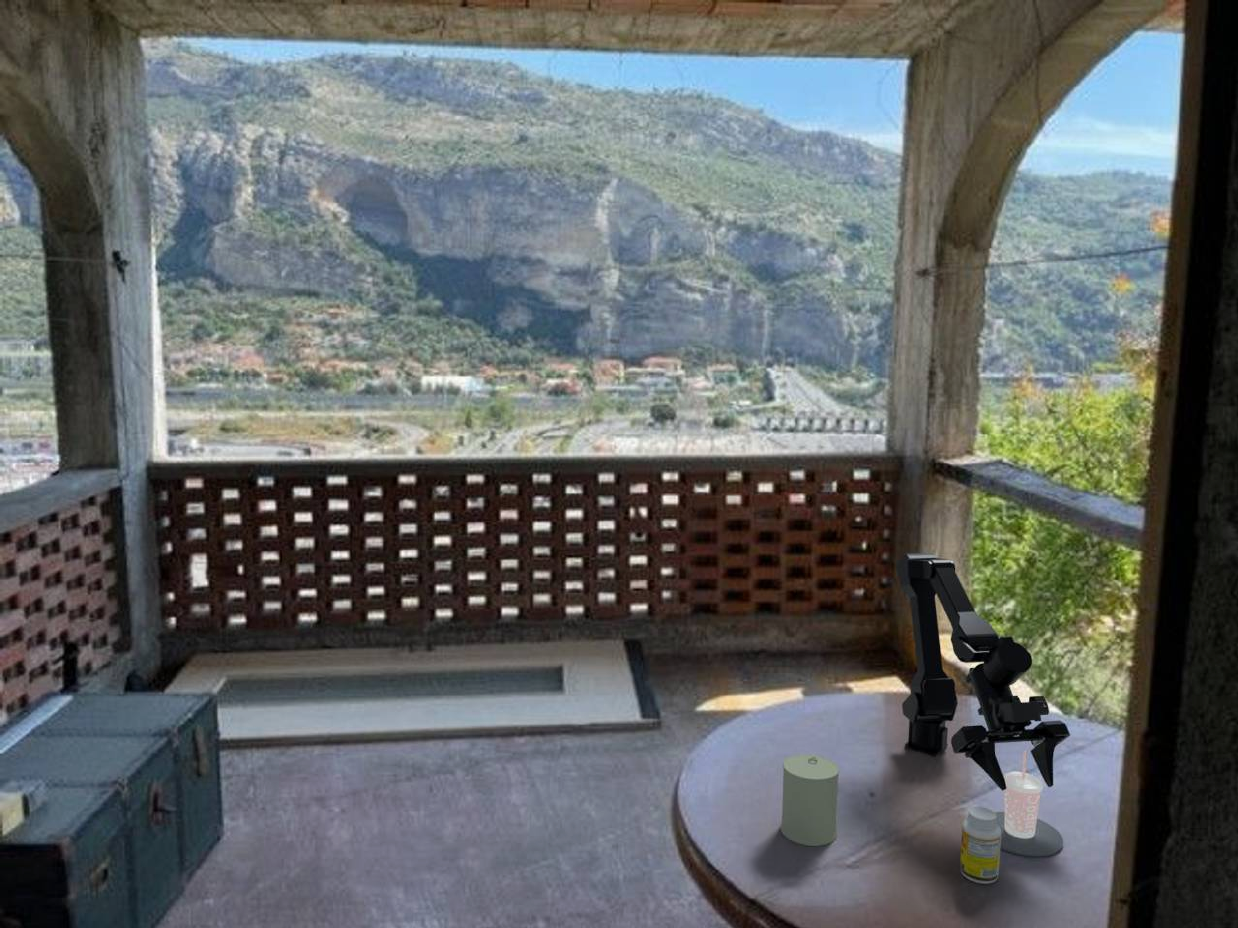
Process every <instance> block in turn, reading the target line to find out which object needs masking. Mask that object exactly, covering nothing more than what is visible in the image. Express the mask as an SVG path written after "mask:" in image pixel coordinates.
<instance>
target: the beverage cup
mask: <svg viewBox="0 0 1238 928" xmlns="http://www.w3.org/2000/svg"><path fill="white" fill-rule="evenodd" d="M1027 753H1028V751H1027V750H1023V754H1022V755H1023V757H1022V768H1021V770H1022V771H1009V772H1006V773H1004V774H1003V776H1004V779H1005V783H1006V787H1007V788H1006V790H1004V812H1005V830H1006V832H1007V833H1009V834H1010V835H1012V836H1015V837H1018V838H1032V837H1033V836H1034V834H1035V828H1036V822H1037V819H1038V813H1039V807H1040V801H1041V794H1042V793H1041V792H1043V790H1044V785H1045V783H1044V782H1043V780H1042V779H1041V778H1040V777H1038V776H1035V775H1033V774H1031V773H1028V772H1026V770H1027V769H1026V767H1027Z"/></svg>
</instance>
